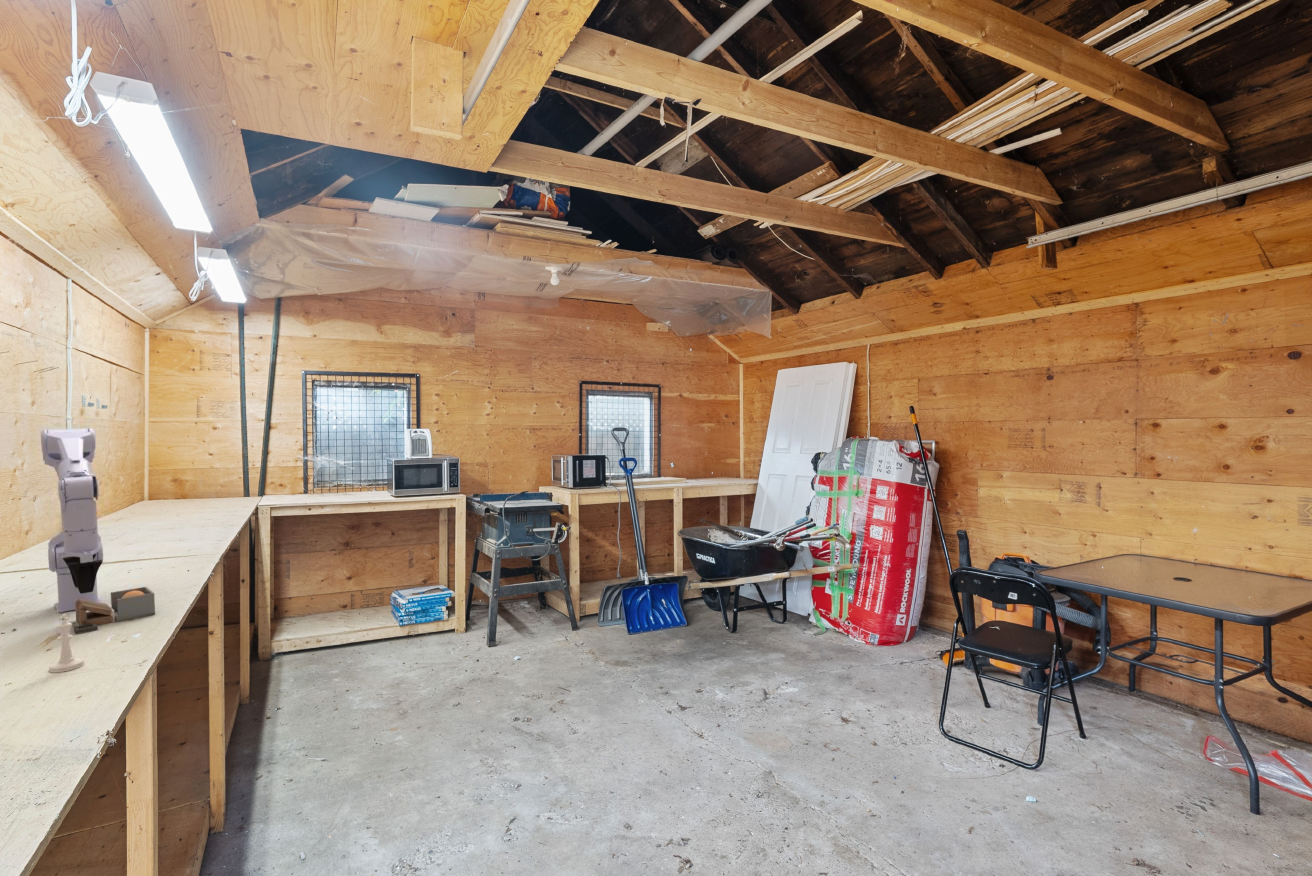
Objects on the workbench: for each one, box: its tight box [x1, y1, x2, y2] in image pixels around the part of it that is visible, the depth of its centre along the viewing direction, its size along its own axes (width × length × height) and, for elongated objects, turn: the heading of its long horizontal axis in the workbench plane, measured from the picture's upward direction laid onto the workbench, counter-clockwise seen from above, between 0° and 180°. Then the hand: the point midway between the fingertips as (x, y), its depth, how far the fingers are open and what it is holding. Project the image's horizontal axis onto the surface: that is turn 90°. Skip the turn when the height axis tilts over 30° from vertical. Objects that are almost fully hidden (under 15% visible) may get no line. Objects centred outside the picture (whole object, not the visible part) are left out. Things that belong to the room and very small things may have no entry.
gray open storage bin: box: [110, 586, 156, 622], centre depth 152 cm, size 9×7×5 cm
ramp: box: [74, 599, 116, 626], centre depth 147 cm, size 8×6×5 cm
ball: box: [122, 591, 144, 598], centre depth 152 cm, size 5×5×5 cm
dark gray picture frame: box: [73, 623, 99, 635], centre depth 141 cm, size 4×4×1 cm
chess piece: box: [48, 613, 85, 673], centre depth 120 cm, size 5×5×10 cm
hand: (83, 589), depth 145 cm, fingers open, 7 cm apart
